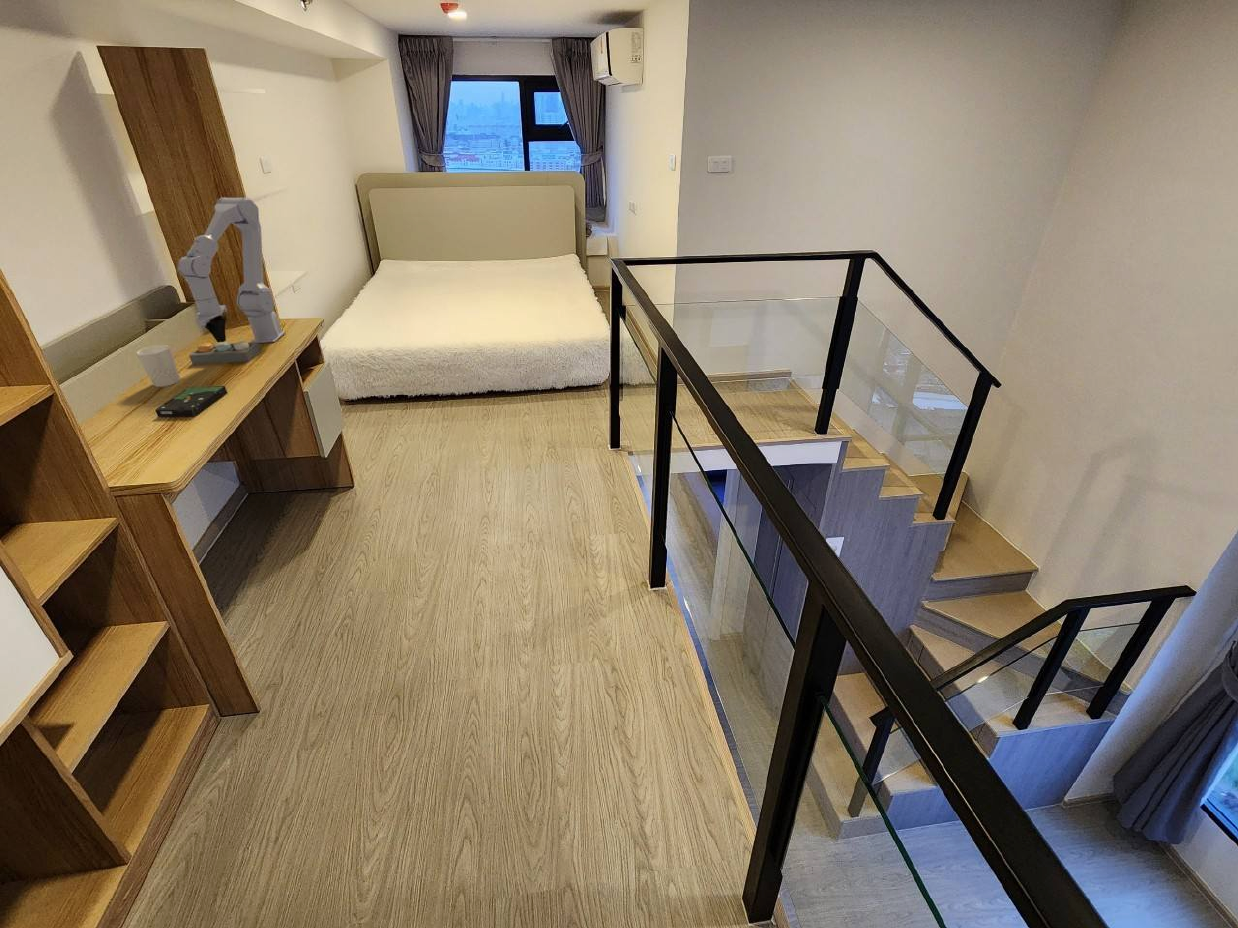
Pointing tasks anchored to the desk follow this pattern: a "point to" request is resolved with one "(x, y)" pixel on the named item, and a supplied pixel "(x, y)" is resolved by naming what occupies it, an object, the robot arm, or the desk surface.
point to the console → (225, 355)
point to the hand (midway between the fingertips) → (221, 341)
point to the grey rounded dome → (223, 346)
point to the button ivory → (241, 345)
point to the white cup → (159, 365)
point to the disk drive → (191, 401)
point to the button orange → (205, 347)
